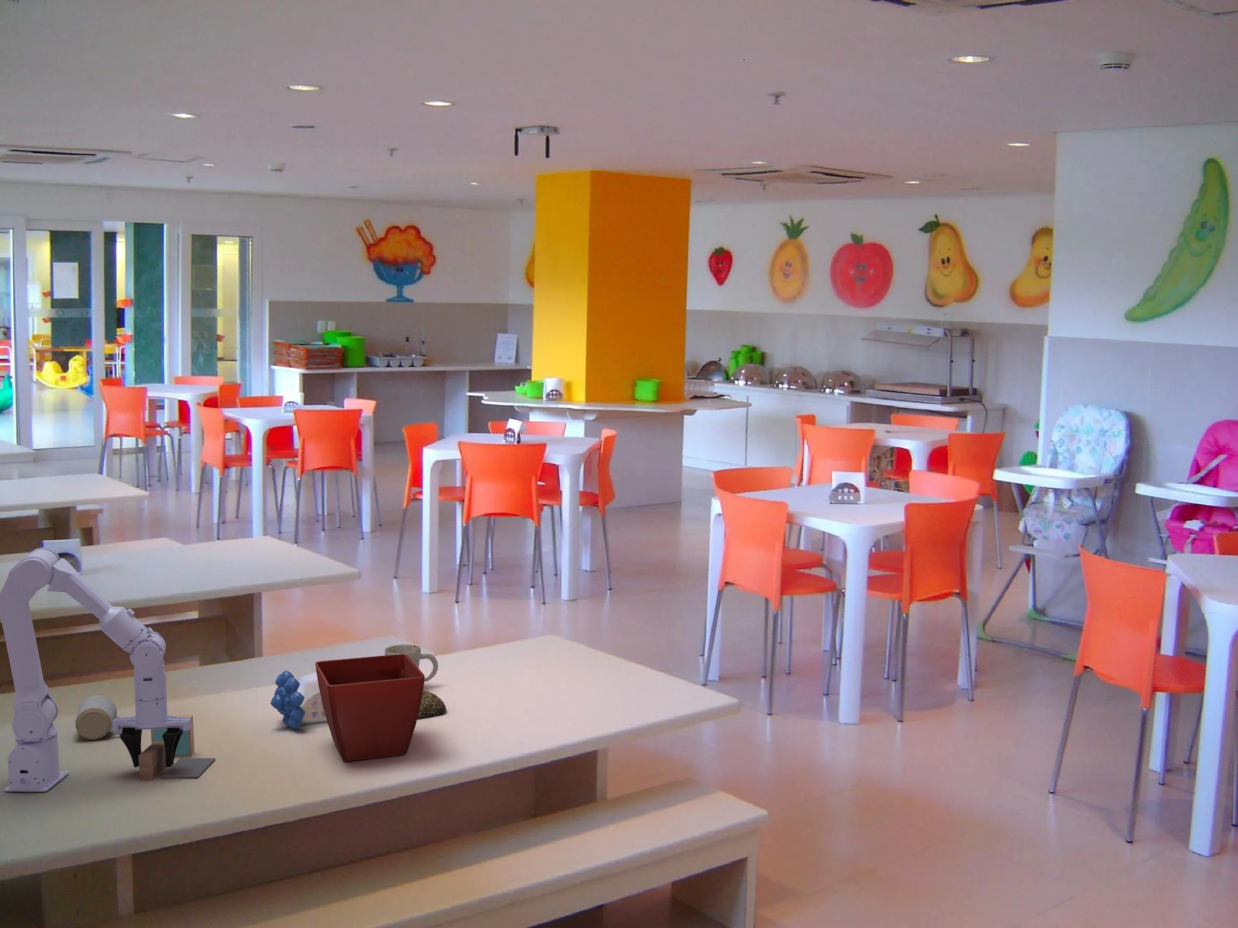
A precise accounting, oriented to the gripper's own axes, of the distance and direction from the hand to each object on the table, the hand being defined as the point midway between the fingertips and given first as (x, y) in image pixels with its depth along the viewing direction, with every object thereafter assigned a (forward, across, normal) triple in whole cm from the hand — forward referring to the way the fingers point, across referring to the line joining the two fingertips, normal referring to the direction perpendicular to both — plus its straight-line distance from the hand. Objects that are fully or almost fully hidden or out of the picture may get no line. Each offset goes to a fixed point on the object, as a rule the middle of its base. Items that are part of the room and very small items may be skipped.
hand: (153, 765), depth 243 cm
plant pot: (+2, -39, -14) cm, 41 cm away
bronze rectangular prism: (+2, 0, 0) cm, 2 cm away
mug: (+2, -40, -55) cm, 68 cm away
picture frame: (+2, 0, -10) cm, 10 cm away
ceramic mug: (+2, +19, -22) cm, 30 cm away
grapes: (+2, -18, -27) cm, 32 cm away
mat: (+1, -6, -2) cm, 6 cm away
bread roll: (+2, -44, -39) cm, 59 cm away
